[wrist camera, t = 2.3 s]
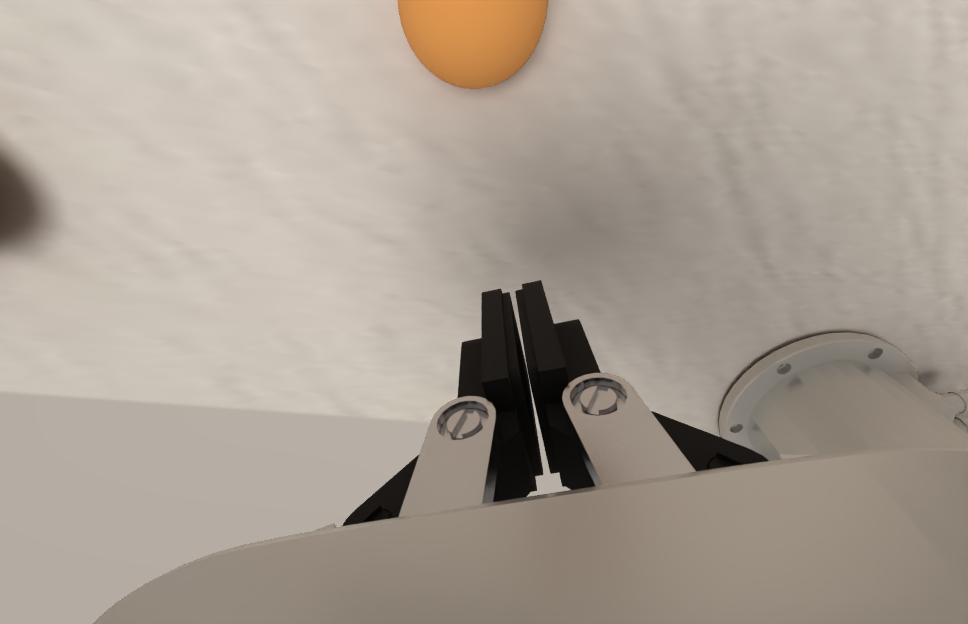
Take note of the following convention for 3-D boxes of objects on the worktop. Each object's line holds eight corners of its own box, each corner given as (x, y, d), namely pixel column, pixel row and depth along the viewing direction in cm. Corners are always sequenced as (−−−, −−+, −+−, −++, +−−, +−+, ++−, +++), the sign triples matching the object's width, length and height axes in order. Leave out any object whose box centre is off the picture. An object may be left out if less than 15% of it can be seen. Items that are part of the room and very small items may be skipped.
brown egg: (527, -88, 18) (542, -159, 13) (548, 70, 21) (568, 66, 15) (393, -47, 19) (355, -98, 13) (431, 101, 21) (412, 107, 16)
